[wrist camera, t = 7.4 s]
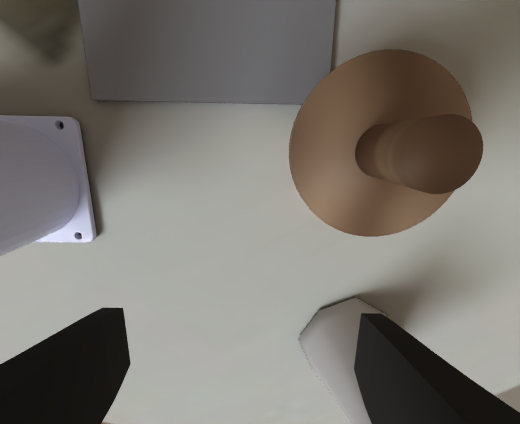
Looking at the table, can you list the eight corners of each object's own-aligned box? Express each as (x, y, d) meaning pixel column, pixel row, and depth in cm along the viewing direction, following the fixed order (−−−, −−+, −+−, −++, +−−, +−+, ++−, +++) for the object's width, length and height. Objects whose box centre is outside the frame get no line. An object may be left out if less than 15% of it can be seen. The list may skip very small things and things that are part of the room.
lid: (292, 237, 15) (310, 286, 10) (284, 62, 13) (302, 8, 8) (450, 225, 15) (551, 269, 10) (471, 48, 13) (619, -18, 7)
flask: (281, 335, 20) (302, 510, 11) (356, 280, 19) (458, 419, 9) (336, 390, 22) (399, 588, 12) (410, 341, 21) (545, 518, 11)
